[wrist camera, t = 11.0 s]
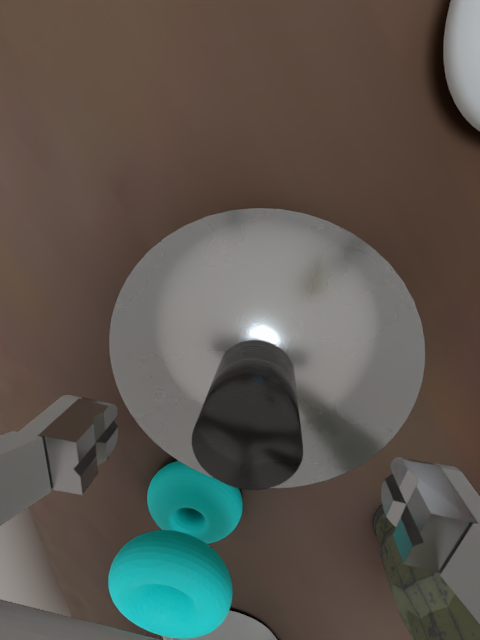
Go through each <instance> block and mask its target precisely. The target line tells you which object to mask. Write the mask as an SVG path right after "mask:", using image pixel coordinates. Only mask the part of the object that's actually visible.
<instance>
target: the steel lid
mask: <svg viewBox="0 0 480 640" xmlns="http://www.w3.org/2000/svg"><path fill="white" fill-rule="evenodd" d="M109 352H110V359H111V366H112V371H113V374H114V378H115V381H116V385H117V387H118V390H119V392H120V394H121V397H122V399H123V401H124V403H125V405H126V406H127V408H128V410H129V412H130V413H131V415H132V416H133V418H134V419H135V420H136V422H137V423H138V424H139V426H140V427H141V428H142V430H143V431H144V432H145V433H146V434H147V435H148V436H149V437H150V438H151V439H152V440H153V441H154V442H155V443H156V444H157V445H158V446H160V447H161V448H162V449H163V450H164V451H165V452H167V453H168V454H170V455H171V456H172V457H174V458H175V459H177V460H178V461H180V462H182V463H183V464H185V465H187V466H189V467H190V468H192V469H194V470H196V471H198V472H201V473H203V474H205V475H207V476H210V477H213V478H215V479H217V480H219V481H220V482H222V483H225V484H227V485H230V486H232V487H236V488H240V489H247V490H260V489H267V488H290V487H297V486H304V485H310V484H314V483H318V482H321V481H325V480H328V479H331V478H333V477H336V476H339V475H341V474H344V473H345V472H347V471H349V470H351V469H353V468H355V467H357V466H359V465H360V464H362V463H363V462H365V461H366V460H368V459H369V458H371V457H372V456H374V455H375V454H376V453H377V452H378V451H380V450H381V449H382V448H383V447H384V446H385V445H386V444H387V443H388V442H389V441H390V440H391V439H392V438H393V437H394V436H395V434H396V433H397V432H398V431H399V429H400V428H401V427H402V425H403V424H404V422H405V421H406V419H407V418H408V416H409V414H410V412H411V410H412V408H413V406H414V404H415V402H416V400H417V397H418V393H419V390H420V387H421V384H422V380H423V373H424V366H425V341H424V335H423V329H422V324H421V320H420V317H419V314H418V311H417V309H416V306H415V303H414V301H413V299H412V297H411V295H410V293H409V291H408V290H407V288H406V286H405V284H404V282H403V281H402V279H401V278H400V277H399V276H398V274H397V273H396V272H395V270H394V269H393V268H392V267H391V265H390V264H389V263H388V262H387V261H386V260H385V259H384V258H383V257H382V256H381V255H380V254H379V253H378V252H377V251H375V250H374V249H373V248H372V247H371V246H370V245H368V244H367V243H365V242H364V241H363V240H361V239H360V238H358V237H357V236H355V235H354V234H352V233H351V232H349V231H347V230H345V229H343V228H341V227H339V226H337V225H335V224H333V223H331V222H329V221H326V220H323V219H320V218H317V217H314V216H311V215H308V214H305V213H299V212H294V211H288V210H282V209H266V208H250V209H241V210H232V211H227V212H223V213H219V214H215V215H211V216H207V217H204V218H202V219H199V220H197V221H195V222H192V223H190V224H187V225H185V226H183V227H182V228H180V229H178V230H177V231H175V232H173V233H172V234H170V235H168V236H167V237H165V238H164V239H163V240H161V241H160V242H159V243H158V244H157V245H155V246H154V247H153V248H152V249H150V250H149V251H148V252H147V254H146V255H145V256H144V257H143V258H142V259H141V260H140V261H139V262H138V264H137V265H136V266H135V267H134V269H133V270H132V272H131V273H130V275H129V276H128V278H127V279H126V281H125V283H124V285H123V287H122V289H121V291H120V293H119V296H118V298H117V300H116V304H115V307H114V311H113V314H112V318H111V326H110V333H109Z"/></svg>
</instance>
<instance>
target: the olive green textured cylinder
mask: <svg viewBox="0 0 480 640" xmlns="http://www.w3.org/2000/svg"><path fill="white" fill-rule="evenodd" d="M373 528H374V531H375V534H376V536H377V538H378V541H379V544H380V547H381V559H382V562H383V565H384V569H385V572H386V575H387V578H388V582H389V585H390V588H391V591H392V595H393V597H394V600H395V602H396V605H397V607H398V610H399V612H400V615H401V617H402V620H403V622H404V623H405V625H406V627H407V628H408V630H409V632H410V633H411V635H412V637H413V638H414V640H480V624H479V623H478V621H477V620H476V619H475V618H474V616H473V615H472V614H471V613H470V612H469V610H468V609H467V608H466V607H465V605H464V604H463V603H462V602H461V600H460V599H459V598H458V597H457V595H456V594H455V593H454V592H453V591H452V589H451V588H450V587H449V586H448V584H447V583H446V582H445V581H444V579H443V578H442V577H441V576H440V575H441V573H437V572H433V571H429V570H425V569H421V568H417V567H413V566H409V565H405V564H403V561H402V558H401V556H400V553H399V550H398V548H397V545H396V542H395V539H394V537H393V533H394V530H395V526H394V525H393V524H392V523H391V522H390V521H389V519H388V518H387V517H386V515H385V512H384V509H383V506H381V507H379V508H378V509H377V511H376V514H375V516H374V518H373Z"/></svg>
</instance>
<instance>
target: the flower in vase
mask: <svg viewBox="0 0 480 640" xmlns="http://www.w3.org/2000/svg"><path fill="white" fill-rule="evenodd" d="M443 60H444V68H445V76H446V80H447V84H448V87H449V91H450V93H451V96H452V98H453V100H454V102H455V105H456V106H457V108H458V109H459V111H460V112H461V114H462V115H463V117H464V118H465V119H466V120H467V121H468V122H469V123H470V124H471V125H472V126H473V127H474V128H476V129H477V130H478V131H480V0H451V2H450V5H449V10H448V15H447V19H446V24H445V33H444V42H443Z"/></svg>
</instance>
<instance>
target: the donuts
mask: <svg viewBox="0 0 480 640" xmlns="http://www.w3.org/2000/svg"><path fill="white" fill-rule="evenodd" d="M147 504H148V508H149V512H150V514H151V516H152V518H153V519H154V521H155V522H156V524H157V525H158V526H159V527H160V528H161V529H162V530H157V531H151V532H147V533H144V534H141V535H139V536H137V537H135V538H133V539H132V540H130V541H129V542H128V543H126V544H125V545H124V546H123V547H122V548H121V549H120V551H119V552H118V553H117V555H116V556H115V558H114V560H113V562H112V565H111V568H110V572H109V578H108V586H109V592H110V595H111V598H112V600H113V602H114V604H115V606H116V607H117V608H118V610H119V611H120V612H121V613H122V614H123V615H124V616H125V617H126V618H127V619H129V620H130V621H131V622H133V623H134V624H136V625H138V626H139V627H141V628H143V629H145V630H147V631H150V632H152V633H155V634H158V635H161V636H166V637H171V638H180V639H187V638H196V637H200V636H203V635H206V634H208V633H210V632H212V631H214V630H215V629H216V628H217V627H218V626H219V625H221V623H222V622H223V621H224V619H225V618H226V616H227V614H228V612H229V609H230V606H231V603H232V595H233V590H232V581H231V577H230V574H229V571H228V569H227V567H226V565H225V563H224V561H223V560H222V559H221V557H220V556H219V555H218V554H217V552H216V551H215V550H214V549H213V548H211V547H210V546H209V545H208V544H209V543H213V542H216V541H219V540H221V539H223V538H225V537H226V536H228V535H229V534H230V533H231V532H232V531H233V530H234V529H235V528H236V526H237V524H238V523H239V521H240V518H241V515H242V509H243V502H242V496H241V493H240V490H239V488H236V487H232V486H230V485H227V484H225V483H222V482H220V481H219V480H217V479H215V478H213V477H210V476H207V475H205V474H203V473H201V472H198V471H196V470H194V469H192V468H190V467H189V466H187V465H185V464H183V463H182V462H180V461H175V462H172V463H170V464H168V465H166V466H164V467H163V468H162V469H160V470H159V471H158V472H157V473H156V474H155V476H154V477H153V479H152V481H151V483H150V485H149V488H148V493H147Z"/></svg>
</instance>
